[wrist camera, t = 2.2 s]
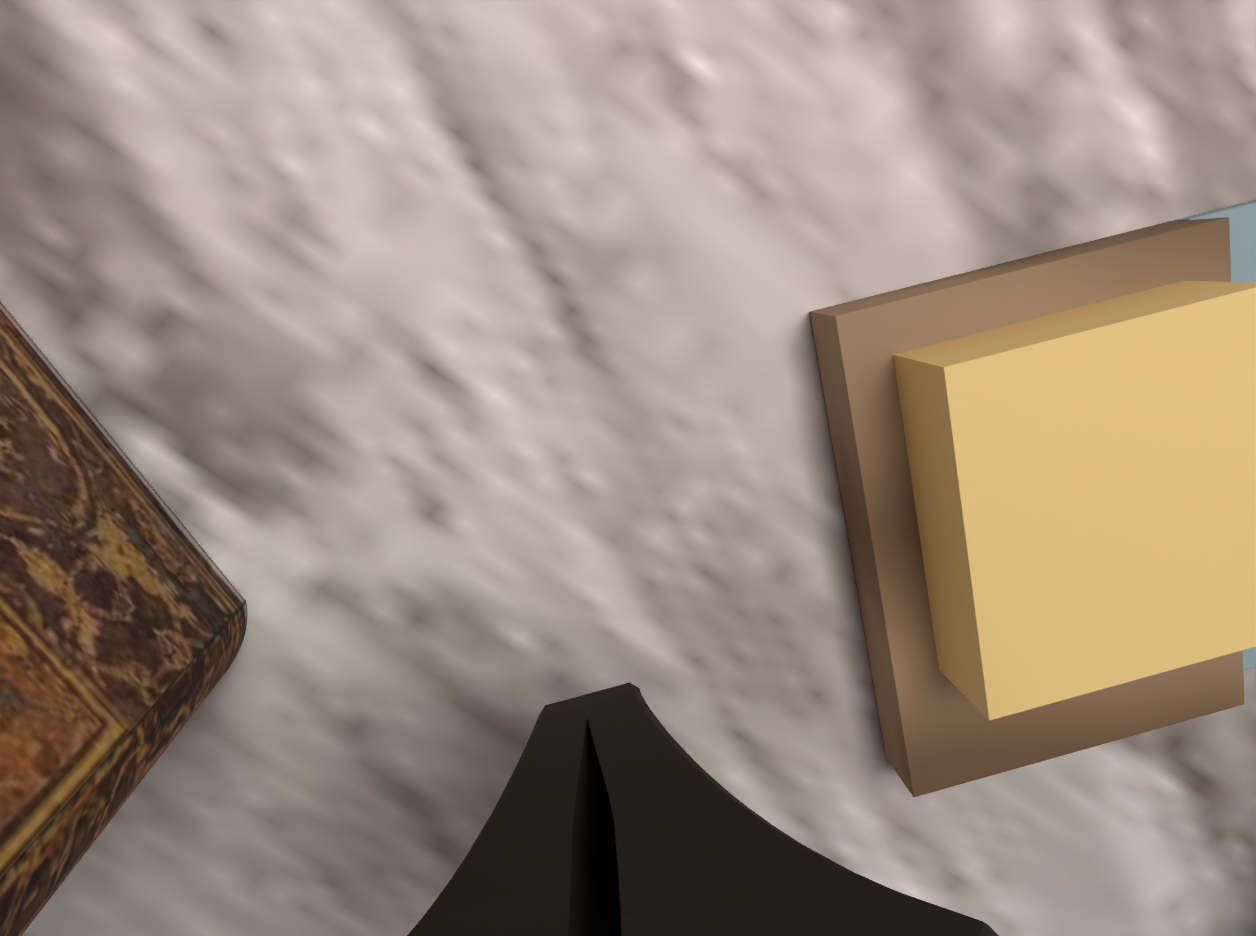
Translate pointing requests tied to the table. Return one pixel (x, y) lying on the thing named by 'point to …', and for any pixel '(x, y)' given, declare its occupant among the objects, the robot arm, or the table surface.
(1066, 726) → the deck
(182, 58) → the table surface
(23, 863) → the book
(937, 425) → the tile
